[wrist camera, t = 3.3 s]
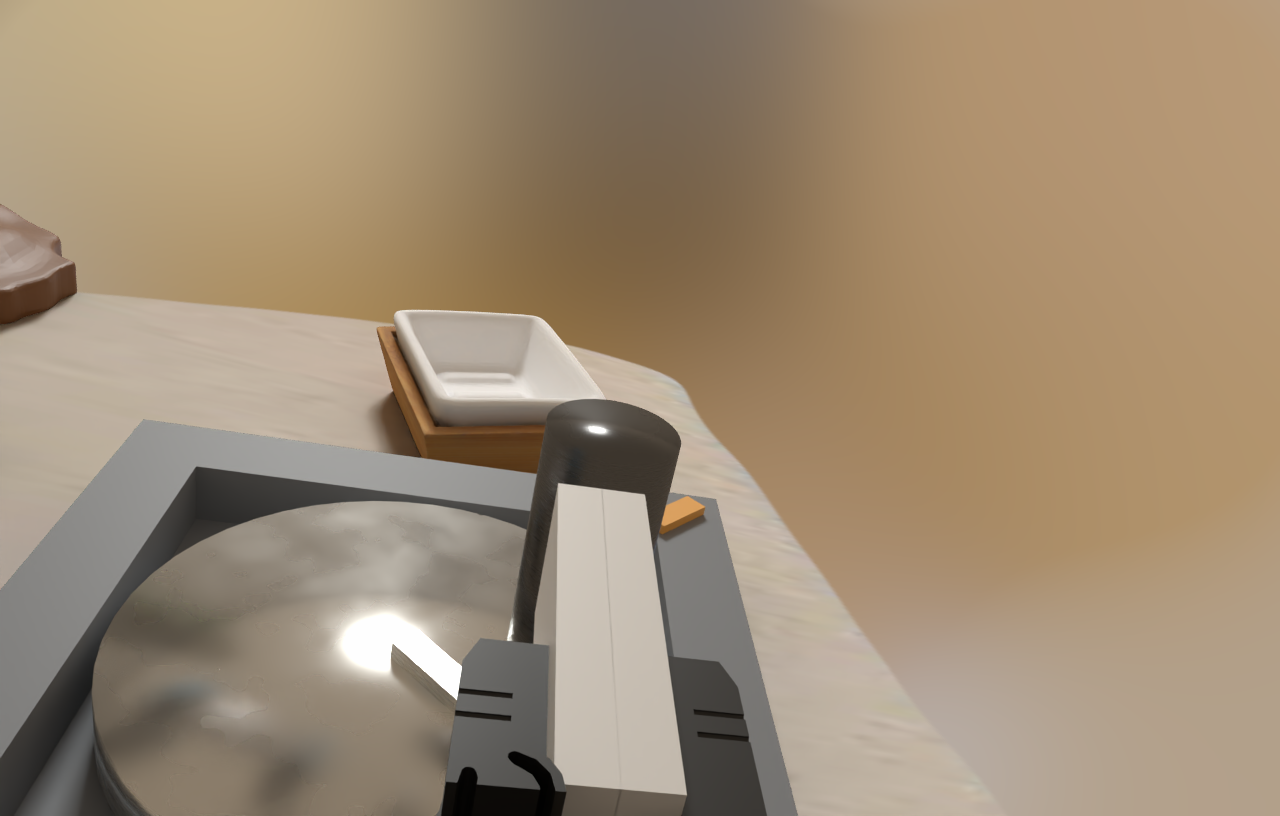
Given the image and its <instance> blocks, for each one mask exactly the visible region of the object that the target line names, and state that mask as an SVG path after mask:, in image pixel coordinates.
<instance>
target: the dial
mask: <svg viewBox="0 0 1280 816" xmlns="http://www.w3.org/2000/svg"><path fill="white" fill-rule="evenodd" d="M680 447H681V440H680V437H679V435H678V433H677V431H676V430H675V429H674V428H673V427H672V426H671V425H670V424H669V423H668V422H666V421H665V420H664V419H662V418H660V417H659V416H657V415H655V414H653V413H651V412H649V411H647V410H644V409H642V408H639V407H636V406H633V405H630V404H626V403H622V402H617V401H611V400H603V399H579V400H572V401H568V402H565V403H562V404H560V405H558V406H556V407H554V408H553V409H552V410H551V411H550V412H549V413H548V415H547V419H546V425H545V431H544V436H543V442H542V447H541V453H540V458H539V464H538V470H537V475H536V481H535V486H534V492H533V497H532V503H531V509H530V514H529V520H528V525H527V530H526V529H523V528H521V527H519V526H516V525H514V524H511V523H507V522H504V521H501V520H498V519H495V518H492V517H489V516H485V515H481V514H477V513H473V512H469V511H465V510H461V509H455V508H449V507H443V506H437V505H430V504H420V503H410V502H392V501H360V502H341V503H332V504H323V505H314V506H309V507H303V508H298V509H293V510H287V511H283V512H279V513H275V514H271V515H268V516H264V517H260V518H256V519H253V520H251V521H248V522H245V523H242V524H239V525H237V526H234V527H231V528H228V529H226V530H224V531H222V532H219V533H217V534H215V535H213V536H211V537H209V538H207V539H204V540H202V541H200V542H198V543H197V544H195V545H193V546H192V547H190V548H188V549H187V550H185V551H183V552H181V553H180V554H178V555H176V556H175V557H173V558H172V559H171V560H169V561H168V562H167V563H165V564H164V565H163V566H161V567H160V568H159V569H158V570H156V571H155V572H154V573H152V574H151V575H150V576H149V577H148V578H147V579H146V580H145V581H144V582H143V583H142V584H141V585H140V586H139V587H138V588H137V589H136V590H135V591H134V592H133V593H132V594H131V595H130V596H129V598H128V599H127V600H126V602H125V603H124V604H123V605H122V607H121V608H120V609H119V611H118V612H117V613H116V615H115V616H114V618H113V620H112V622H111V624H110V626H109V627H108V629H107V631H106V633H105V635H104V637H103V639H102V642H101V645H100V648H99V651H98V655H97V658H96V661H95V664H94V673H93V684H92V711H93V733H94V750H95V758H96V766H97V774H98V778H99V781H100V784H101V787H102V790H103V793H104V795H105V798H106V801H107V804H108V806H109V808H110V809H111V811H112V813H113V815H114V816H436V814H437V813H438V811H439V809H440V806H441V802H442V799H443V792H444V785H445V778H446V771H447V764H448V757H449V750H450V743H451V736H452V729H453V722H454V715H455V708H456V701H457V694H458V688H459V681H460V674H461V667H462V660H463V659H464V658H465V657H466V655H467V654H468V653H469V652H470V650H471V649H472V648H473V647H474V645H475V644H476V643H477V642H478V640H479V639H480V638H485V639H494V640H503V641H513V642H522V643H531V644H533V643H534V621H535V609H536V604H537V598H538V593H539V587H540V581H541V576H542V570H543V565H544V559H545V554H546V548H547V543H548V537H549V531H550V526H551V520H552V515H553V509H554V504H555V498H556V493H557V487H558V483H561V484H569V485H576V486H584V487H592V488H599V489H607V490H614V491H622V492H629V493H637V494H645V498H646V506H647V513H648V520H649V527H650V534H651V541H652V548H653V556H654V552H655V548H656V544H657V540H658V536H659V532H660V528H661V524H662V520H663V516H664V512H665V508H666V504H667V500H668V496H669V492H670V487H671V483H672V479H673V475H674V471H675V467H676V463H677V459H678V455H679V451H680Z"/></svg>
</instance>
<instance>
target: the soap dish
mask: <svg viewBox="0 0 1280 816" xmlns="http://www.w3.org/2000/svg"><path fill="white" fill-rule="evenodd" d="M394 325H395V327H377V334H378V337H379V341H380V345H381V349H382V352H383V356H384V360H385V363H386V367H387V371H388V375H389V378H390V382H391V385H392V389H393V391H394V395H395V396H396V398H397V401H398V403H399V406H400V408H401V410H402V413H403V415H404V417H405V420H406V422H407V424H408V427H409V429H410V432H411V434H412V436H413V439H414V441H415V444H416V446H417V448H418V451H419V453H420V455H421V458H425V459H432V460H439V461H446V462H453V463H460V464H468V465H475V466H482V467H489V468H496V469H504V470H511V471H518V472H525V473H532V474H537V470H538V464H539V458H540V453H541V447H542V442H543V436H544V431H545V425H546V419H547V415H548V413H549V412H550V411H551V410H552V409H553V408H554V407H556V406H558V405H560V404H562V403H565V402H568V401H572V400H579V399H603V400H606V398H605V396H604V395H603V393H602V392H601V390H600V389H599V387H598V386H597V385H596V384H595V382H594V381H593V380H592V378H591V377H590V376H589V374H588V373H587V372H586V370H585V369H584V368H583V366H582V365H581V364H580V363H579V361H578V360H577V359H576V358H575V356H574V355H573V354H572V352H571V351H570V350H569V349H568V348H567V346H566V345H565V344H564V343H563V342H562V340H561V339H560V338H559V337H558V335H557V334H556V333H555V332H554V331H553V330H552V328H551V327H550V326H549V325H548V324H547V323H546V322H545V321H544V320H542V319H541V318H539V317H536V316H530V315H519V314H518V315H517V314H504V313H484V312H464V311H439V310H403V311H397V312H396V313H395V315H394Z"/></svg>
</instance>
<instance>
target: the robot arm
mask: <svg viewBox="0 0 1280 816" xmlns="http://www.w3.org/2000/svg"><path fill="white" fill-rule="evenodd" d="M436 816H767V813H766V808H765V804H764V799H763V795H762V791H761V786H760V782H759V777H758V773H757V769H756V764H755V760H754V755H753V751H752V747H751V742H749V733H748V729H747V725H746V720H744V711H743V707H742V703H741V698H740V694H739V689H738V686H737V685H736V684H735V682H734V681H733V680H732V678H731V677H730V676H729V674H728V673H727V672H726V670H725V669H724V668H723V666H722V665H721V664H720V662H717V661H708V660H699V659H690V658H681V657H672V656H667V649H666V641H665V634H664V627H663V620H662V613H661V606H660V598H659V591H658V584H657V577H656V570H655V563H654V556H653V548H652V541H651V534H650V527H649V520H648V513H647V506H646V498H645V494H637V493H629V492H622V491H614V490H607V489H599V488H592V487H584V486H576V485H569V484H561V483H558V487H557V493H556V498H555V504H554V509H553V515H552V520H551V526H550V531H549V537H548V543H547V548H546V554H545V559H544V565H543V570H542V576H541V581H540V587H539V593H538V598H537V604H536V609H535V621H534V643H533V644H531V643H522V642H513V641H503V640H494V639H485V638H480V639H479V640H478V642H477V643H476V644H475V645H474V647H473V648H472V649H471V650H470V652H469V653H468V654H467V655H466V657H465V658H464V659H463V660H462V667H461V674H460V681H459V688H458V694H457V701H456V708H455V715H454V722H453V729H452V736H451V743H450V750H449V757H448V764H447V771H446V778H445V785H444V792H443V799H442V802H441V806H440V809H439V811H438V813H437V814H436Z"/></svg>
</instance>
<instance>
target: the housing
mask: <svg viewBox="0 0 1280 816" xmlns="http://www.w3.org/2000/svg"><path fill="white" fill-rule="evenodd" d="M536 475H537V474H532V473H525V472H518V471H511V470H504V469H496V468H489V467H482V466H475V465H468V464H460V463H453V462H446V461H439V460H432V459H425V458H417V457H410V456H403V455H396V454H389V453H382V452H374V451H367V450H360V449H353V448H346V447H338V446H331V445H324V444H317V443H310V442H303V441H295V440H288V439H281V438H274V437H267V436H260V435H252V434H245V433H238V432H231V431H224V430H216V429H209V428H202V427H195V426H188V425H181V424H173V423H166V422H159V421H152V420H145V419H143V421H142V422H141V423H140V424H139V425H138V427H137V428H136V429H135V430H134V431H133V432H132V434H131V435H130V436H129V437H128V438H127V440H126V441H125V442H124V443H123V444H122V446H121V447H120V448H119V449H118V450H117V452H116V453H115V454H114V455H113V456H112V458H111V459H110V460H109V461H108V462H107V463H106V465H105V466H104V467H103V468H102V469H101V471H100V472H99V473H98V474H97V475H96V477H95V478H94V479H93V480H92V481H91V483H90V484H89V485H88V486H87V487H86V489H85V490H84V491H83V492H82V493H81V494H80V496H79V497H78V498H77V499H76V500H75V502H74V503H73V504H72V505H71V506H70V508H69V509H68V510H67V511H66V512H65V514H64V515H63V516H62V517H61V518H60V520H59V521H58V522H57V523H56V524H55V526H54V527H53V528H52V529H51V530H50V531H49V533H48V534H47V535H46V536H45V537H44V539H43V540H42V541H41V542H40V543H39V545H38V546H37V547H36V548H35V549H34V551H33V552H32V553H31V554H30V555H29V557H28V558H27V559H26V560H25V561H24V562H23V564H22V565H21V566H20V567H19V568H18V570H17V571H16V572H15V573H14V574H13V576H12V577H11V578H10V579H9V580H8V582H7V583H6V584H5V585H4V586H3V588H2V589H1V590H0V816H114V815H113V813H112V811H111V809H110V808H109V806H108V804H107V801H106V798H105V795H104V793H103V790H102V787H101V784H100V781H99V778H98V774H97V766H96V758H95V750H94V733H93V711H92V684H93V673H94V664H95V661H96V658H97V655H98V651H99V648H100V645H101V642H102V639H103V637H104V635H105V633H106V631H107V629H108V627H109V626H110V624H111V622H112V620H113V618H114V616H115V615H116V613H117V612H118V611H119V609H120V608H121V607H122V605H123V604H124V603H125V602H126V600H127V599H128V598H129V596H130V595H131V594H132V593H133V592H134V591H135V590H136V589H137V588H138V587H139V586H140V585H141V584H142V583H143V582H144V581H145V580H146V579H147V578H148V577H149V576H150V575H151V574H152V573H154V572H155V571H156V570H158V569H159V568H160V567H161V566H163V565H164V564H165V563H167V562H168V561H169V560H171V559H172V558H173V557H175V556H176V555H178V554H180V553H181V552H183V551H185V550H187V549H188V548H190V547H192V546H193V545H195V544H197V543H198V542H200V541H202V540H204V539H207V538H209V537H211V536H213V535H215V534H217V533H219V532H222V531H224V530H226V529H228V528H231V527H234V526H237V525H239V524H242V523H245V522H248V521H251V520H253V519H256V518H260V517H264V516H268V515H271V514H275V513H279V512H283V511H287V510H293V509H298V508H303V507H309V506H314V505H323V504H332V503H341V502H360V501H392V502H410V503H420V504H430V505H437V506H443V507H449V508H455V509H461V510H465V511H469V512H473V513H477V514H481V515H485V516H489V517H492V518H495V519H498V520H501V521H504V522H507V523H511V524H514V525H516V526H519V527H521V528H523V529H526V530H527V525H528V520H529V514H530V509H531V503H532V497H533V492H534V486H535V481H536ZM654 563H655V570H656V577H657V584H658V591H659V598H660V606H661V613H662V620H663V627H664V634H665V641H666V649H667V656H672V657H681V658H690V659H699V660H708V661H717V662H720V664H721V665H722V666H723V668H724V669H725V670H726V672H727V673H728V674H729V676H730V677H731V678H732V680H733V681H734V682H735V684H736V685H737V686H738V689H739V694H740V698H741V703H742V707H743V711H744V720H746V725H747V729H748V733H749V742H751V747H752V751H753V755H754V760H755V764H756V769H757V773H758V777H759V782H760V786H761V791H762V795H763V799H764V804H765V808H766V813H767V816H798V814H797V810H796V806H795V803H794V799H793V795H792V791H791V787H790V783H789V779H788V776H787V772H786V768H785V764H784V760H783V756H782V752H781V749H780V745H779V741H778V737H777V733H776V729H775V725H774V722H773V718H772V714H771V710H770V706H769V702H768V698H767V695H766V691H765V687H764V683H763V679H762V675H761V671H760V667H759V664H758V660H757V656H756V652H755V648H754V644H753V640H752V637H751V633H750V629H749V625H748V621H747V617H746V613H745V610H744V606H743V602H742V598H741V594H740V590H739V586H738V583H737V579H736V575H735V571H734V567H733V563H732V559H731V556H730V552H729V548H728V544H727V540H726V536H725V532H724V529H723V525H722V521H721V517H720V513H719V509H718V505H717V502H716V499H712V498H704V497H697V496H690V495H683V494H676V493H669V496H668V500H667V504H666V508H665V512H664V516H663V520H662V524H661V528H660V532H659V536H658V540H657V544H656V548H655V552H654Z"/></svg>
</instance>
